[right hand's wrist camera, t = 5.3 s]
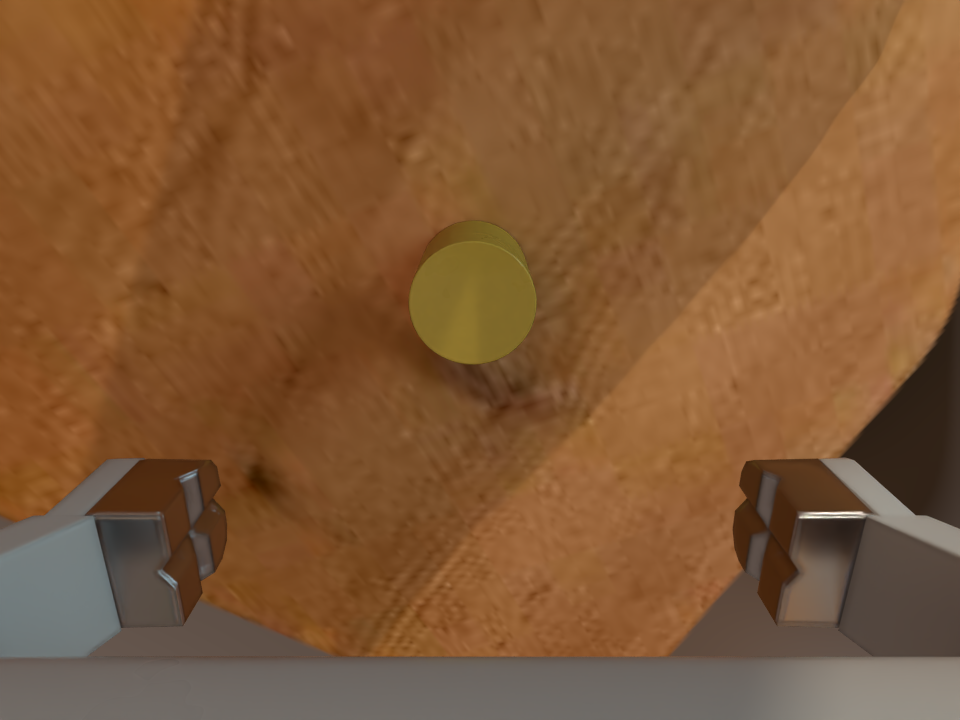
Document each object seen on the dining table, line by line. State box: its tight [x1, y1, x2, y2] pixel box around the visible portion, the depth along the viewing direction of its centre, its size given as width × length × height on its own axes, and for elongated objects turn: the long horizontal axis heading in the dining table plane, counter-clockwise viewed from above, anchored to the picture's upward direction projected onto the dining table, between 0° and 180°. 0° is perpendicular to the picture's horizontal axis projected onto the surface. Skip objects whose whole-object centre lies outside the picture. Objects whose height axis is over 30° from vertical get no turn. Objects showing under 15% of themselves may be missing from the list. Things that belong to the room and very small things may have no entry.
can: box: [409, 221, 536, 364], centre depth 22 cm, size 4×4×4 cm
